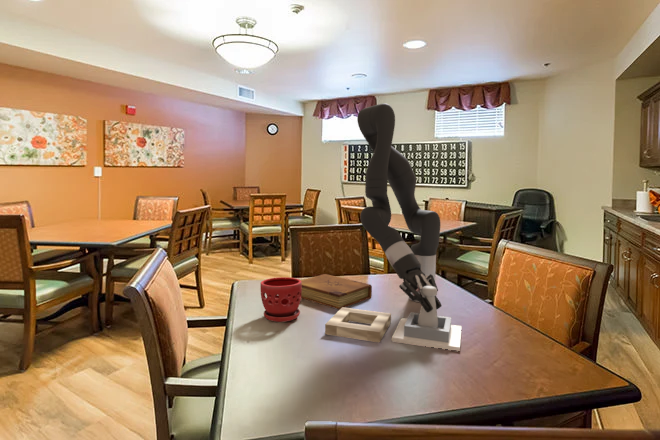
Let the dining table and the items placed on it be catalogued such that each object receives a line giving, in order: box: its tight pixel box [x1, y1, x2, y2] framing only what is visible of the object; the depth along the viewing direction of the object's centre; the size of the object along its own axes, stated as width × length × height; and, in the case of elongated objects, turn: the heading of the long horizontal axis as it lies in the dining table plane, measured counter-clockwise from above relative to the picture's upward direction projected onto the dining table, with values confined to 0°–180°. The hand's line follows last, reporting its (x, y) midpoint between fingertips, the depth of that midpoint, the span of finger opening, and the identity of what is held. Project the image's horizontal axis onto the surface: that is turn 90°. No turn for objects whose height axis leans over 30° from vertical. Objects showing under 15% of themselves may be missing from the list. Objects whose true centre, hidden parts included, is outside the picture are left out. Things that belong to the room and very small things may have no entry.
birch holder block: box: [324, 307, 392, 343], centre depth 121 cm, size 16×16×3 cm
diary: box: [301, 273, 373, 310], centre depth 153 cm, size 23×19×6 cm
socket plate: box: [391, 311, 463, 352], centre depth 117 cm, size 16×18×4 cm
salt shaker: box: [418, 286, 438, 328], centre depth 116 cm, size 6×6×13 cm
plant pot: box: [260, 276, 302, 323], centre depth 130 cm, size 13×13×12 cm
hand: (434, 309), depth 115 cm, fingers closed on salt shaker, 3 cm apart
